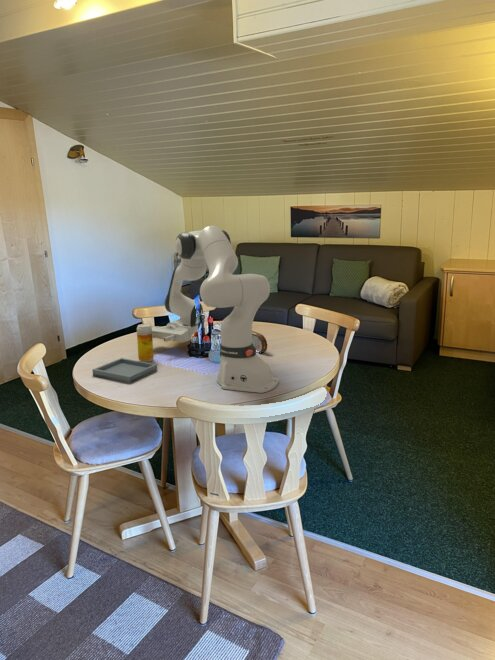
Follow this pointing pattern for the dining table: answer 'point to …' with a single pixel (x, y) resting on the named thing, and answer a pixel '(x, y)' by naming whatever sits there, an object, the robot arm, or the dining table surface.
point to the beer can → (145, 342)
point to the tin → (259, 341)
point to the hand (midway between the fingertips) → (155, 338)
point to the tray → (125, 370)
